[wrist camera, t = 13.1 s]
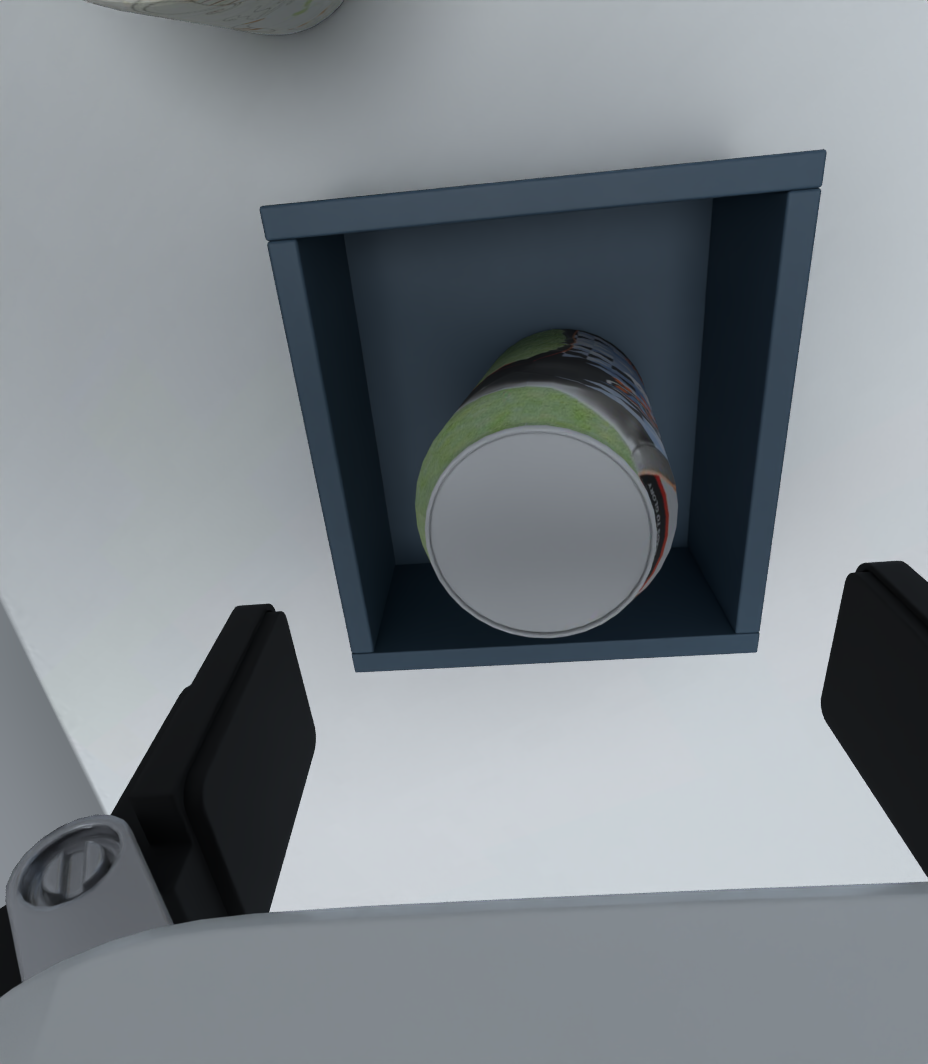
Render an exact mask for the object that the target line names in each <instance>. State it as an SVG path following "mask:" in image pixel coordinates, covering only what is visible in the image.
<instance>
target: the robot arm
mask: <svg viewBox="0 0 928 1064" xmlns="http://www.w3.org/2000/svg"><path fill="white" fill-rule="evenodd" d="M821 709H822V713H823V716H824V719H825V721H826V723H827V724H828V726H829V727H830V729H831V730H832V732H833V733H834V735H835V736H836V738H837V740H838V741H839V743H840V744H841V746H842V747H843V749H844V750H845V752H846V753H847V755H848V756H849V758H850V759H851V761H852V762H853V764H854V766H855V767H856V769H857V770H858V772H859V773H860V775H861V776H862V778H863V779H864V781H865V782H866V784H867V785H868V787H869V788H870V790H871V792H872V793H873V795H874V796H875V798H876V799H877V801H878V802H879V804H880V805H881V807H882V808H883V810H884V811H885V813H886V814H887V816H888V818H889V819H890V821H891V822H892V824H893V825H894V827H895V828H896V830H897V831H898V833H899V834H900V836H901V837H902V839H903V840H904V842H905V844H906V845H907V847H908V848H909V850H910V851H911V853H912V854H913V856H914V857H915V859H916V860H917V862H918V863H919V865H920V866H921V868H922V870H923V871H924V873H925V874H926V876H927V877H928V582H927V581H926V580H925V579H924V578H922V577H921V576H920V575H919V574H918V573H917V572H916V571H914V570H913V569H912V568H911V567H910V566H909V565H908V564H906V563H904V562H903V561H887V562H872V563H863V564H861V565H859V567H858V568H857V570H856V572H855V573H850V574H849V575H848V576H847V578H846V581H845V585H844V590H843V595H842V599H841V604H840V609H839V614H838V619H837V624H836V628H835V633H834V638H833V643H832V648H831V653H830V657H829V662H828V667H827V672H826V677H825V682H824V686H823V691H822V696H821ZM315 744H316V732H315V726H314V722H313V718H312V715H311V711H310V707H309V703H308V699H307V695H306V691H305V687H304V684H303V680H302V676H301V672H300V668H299V664H298V660H297V656H296V653H295V649H294V645H293V641H292V637H291V633H290V629H289V625H288V621H287V618H286V615H285V614H284V612H282V611H278V612H276V611H275V609H274V607H273V606H272V605H271V604H257V605H242V606H237V607H235V609H234V610H233V611H232V613H231V615H230V617H229V618H228V620H227V622H226V624H225V625H224V627H223V629H222V631H221V633H220V634H219V636H218V638H217V640H216V641H215V643H214V645H213V647H212V649H211V650H210V652H209V654H208V656H207V657H206V659H205V661H204V663H203V664H202V666H201V668H200V670H199V672H198V673H197V675H196V677H195V679H194V680H193V682H192V684H191V685H190V686H188V687H186V688H185V689H184V690H183V691H182V693H181V694H180V695H179V697H178V699H177V700H176V702H175V704H174V706H173V707H172V709H171V711H170V713H169V714H168V716H167V718H166V720H165V721H164V723H163V725H162V726H161V728H160V730H159V732H158V733H157V735H156V737H155V739H154V740H153V742H152V744H151V746H150V747H149V749H148V751H147V753H146V754H145V756H144V758H143V759H142V761H141V763H140V765H139V766H138V768H137V770H136V772H135V773H134V775H133V777H132V779H131V780H130V782H129V784H128V786H127V787H126V789H125V791H124V792H123V794H122V796H121V798H120V799H119V801H118V803H117V805H116V806H115V808H114V810H113V812H112V813H111V815H93V816H88V817H84V818H80V819H77V820H74V821H72V822H70V823H68V824H65V825H63V826H61V827H59V828H57V829H56V830H54V831H53V832H51V833H50V834H48V835H47V836H45V837H43V838H42V839H41V840H40V841H38V842H37V843H36V844H35V845H34V846H33V847H32V848H31V849H30V850H29V851H28V852H26V854H25V855H24V856H23V857H22V859H21V860H20V861H19V863H18V864H17V865H16V867H15V868H14V869H13V871H12V874H11V876H10V878H9V881H8V883H7V885H6V905H5V906H4V907H2V908H0V1064H928V882H909V883H883V884H856V885H830V886H803V887H777V888H750V889H727V890H703V891H680V892H656V893H633V894H610V895H588V896H565V897H543V898H522V899H501V900H481V901H460V902H440V903H420V904H399V905H379V906H360V907H345V908H330V909H315V910H300V911H285V912H270V913H269V911H270V907H271V903H272V900H273V896H274V893H275V889H276V886H277V882H278V879H279V875H280V871H281V868H282V864H283V861H284V857H285V854H286V850H287V847H288V843H289V840H290V836H291V832H292V829H293V825H294V822H295V818H296V815H297V811H298V808H299V804H300V800H301V797H302V793H303V790H304V786H305V783H306V779H307V776H308V772H309V768H310V765H311V761H312V758H313V754H314V750H315Z"/></svg>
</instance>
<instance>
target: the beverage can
mask: <svg viewBox="0 0 928 1064" xmlns="http://www.w3.org/2000/svg"><path fill="white" fill-rule="evenodd" d="M415 509H416V519H417V527H418V531H419V534H420V538H421V541H422V545H423V547H424V549H425V552H426V554H427V556H428V558H429V560H430V562H431V564H432V566H433V569H434V571H435V573H436V575H437V577H438V579H439V581H440V582H441V584H442V585H443V586H444V588H445V589H446V591H447V592H448V593H449V595H450V596H451V597H452V598H453V599H454V600H455V601H456V602H457V603H458V604H459V605H460V606H461V607H462V608H463V609H465V610H466V611H467V612H469V613H470V614H471V615H473V616H474V617H475V618H477V619H478V620H480V621H482V622H484V623H486V624H488V625H490V626H492V627H493V628H496V629H499V630H502V631H505V632H508V633H510V634H515V635H520V636H525V637H533V638H555V637H564V636H570V635H574V634H577V633H581V632H585V631H588V630H590V629H592V628H594V627H597V626H599V625H601V624H603V623H605V622H606V621H608V620H609V619H611V618H612V617H614V616H615V615H617V614H618V613H619V612H620V611H622V610H623V609H624V608H625V607H626V606H627V605H628V604H629V603H630V602H632V601H633V600H634V599H635V598H636V597H637V596H638V595H639V594H640V593H641V592H642V591H643V590H644V589H645V588H647V587H648V585H649V584H650V583H651V581H652V580H653V579H654V577H655V576H656V575H657V573H658V572H659V570H660V569H661V567H662V565H663V563H664V561H665V559H666V557H667V555H668V553H669V551H670V549H671V545H672V541H673V538H674V534H675V530H676V526H677V512H678V500H677V492H676V484H675V480H674V476H673V473H672V470H671V467H670V464H669V461H668V458H667V455H666V452H665V449H664V446H663V443H662V440H661V436H660V433H659V430H658V427H657V424H656V421H655V418H654V415H653V412H652V409H651V406H650V403H649V400H648V396H647V393H646V390H645V387H644V384H643V381H642V378H641V377H640V375H639V373H638V371H637V369H636V368H635V366H634V364H633V363H632V362H631V361H630V360H629V358H628V357H627V356H626V355H625V354H624V353H623V352H622V351H621V350H620V349H618V348H617V347H616V346H615V345H613V344H612V343H610V342H609V341H607V340H605V339H603V338H601V337H600V336H597V335H594V334H591V333H588V332H585V331H580V330H573V329H552V330H548V331H543V332H539V333H536V334H533V335H531V336H528V337H526V338H524V339H522V340H520V341H519V342H517V343H516V344H514V345H512V346H511V347H509V348H508V349H507V350H506V351H505V352H504V353H503V354H502V355H501V356H500V357H499V358H498V359H497V360H496V361H495V363H494V364H493V365H492V367H491V368H490V369H489V370H488V372H487V373H486V374H485V375H484V377H483V378H482V379H481V380H480V382H479V383H478V384H477V386H476V387H475V388H474V389H473V391H472V392H471V393H470V394H469V396H468V397H467V398H466V399H465V401H464V402H463V403H462V405H461V406H460V407H459V408H458V410H457V411H456V412H455V413H454V415H453V416H452V417H451V419H450V420H449V421H448V422H447V424H446V425H445V426H444V428H443V429H442V430H441V432H440V433H439V434H438V436H437V437H436V438H435V439H434V441H433V442H432V444H431V446H430V448H429V450H428V452H427V454H426V456H425V458H424V460H423V463H422V466H421V470H420V474H419V477H418V481H417V487H416V499H415Z"/></svg>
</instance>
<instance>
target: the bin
mask: <svg viewBox="0 0 928 1064" xmlns="http://www.w3.org/2000/svg"><path fill="white" fill-rule="evenodd" d="M825 160H826V150H824V149H823V150H813V151H803V152H793V153H783V154H773V155H763V156H753V157H743V158H733V159H724V160H714V161H704V162H694V163H684V164H674V165H664V166H654V167H644V168H634V169H624V170H614V171H604V172H595V173H585V174H575V175H565V176H555V177H545V178H535V179H525V180H515V181H505V182H495V183H485V184H476V185H466V186H456V187H446V188H436V189H426V190H416V191H406V192H396V193H386V194H376V195H366V196H356V197H347V198H337V199H327V200H317V201H307V202H297V203H287V204H277V205H267V206H261V207H260V214H261V219H262V223H263V228H264V233H265V238H266V240H267V241H269V242H268V244H267V247H268V251H269V256H270V261H271V266H272V271H273V275H274V280H275V285H276V290H277V295H278V300H279V304H280V309H281V314H282V319H283V324H284V329H285V333H286V338H287V343H288V348H289V353H290V357H291V362H292V367H293V372H294V377H295V382H296V386H297V391H298V396H299V401H300V406H301V411H302V415H303V420H304V425H305V430H306V435H307V439H308V444H309V449H310V454H311V459H312V464H313V468H314V473H315V478H316V483H317V488H318V493H319V497H320V502H321V507H322V512H323V517H324V521H325V526H326V531H327V536H328V541H329V546H330V550H331V555H332V560H333V565H334V570H335V575H336V579H337V584H338V589H339V594H340V599H341V603H342V608H343V613H344V618H345V623H346V628H347V632H348V637H349V642H350V647H351V651H352V658H353V663H354V668H355V672H374V671H394V670H414V669H434V668H454V667H474V666H494V665H514V664H534V663H554V662H574V661H594V660H614V659H634V658H654V657H674V656H694V655H714V654H734V653H754V652H757V648H758V641H759V631H760V624H761V616H762V609H763V602H764V595H765V588H766V581H767V574H768V566H769V559H770V552H771V545H772V538H773V531H774V524H775V516H776V509H777V502H778V495H779V488H780V481H781V473H782V466H783V459H784V452H785V445H786V438H787V431H788V423H789V416H790V409H791V402H792V395H793V388H794V381H795V373H796V366H797V359H798V352H799V345H800V338H801V331H802V323H803V316H804V309H805V302H806V295H807V288H808V281H809V273H810V266H811V259H812V252H813V245H814V238H815V231H816V223H817V216H818V209H819V202H820V195H821V189H819V187H821V185H822V181H823V174H824V167H825ZM552 329H573V330H580V331H585V332H588V333H591V334H594V335H597V336H600V337H601V338H603V339H605V340H607V341H609V342H610V343H612V344H613V345H615V346H616V347H617V348H618V349H620V350H621V351H622V352H623V353H624V354H625V355H626V356H627V357H628V358H629V360H630V361H631V362H632V363H633V364H634V366H635V368H636V369H637V371H638V373H639V375H640V377H641V378H642V381H643V384H644V387H645V390H646V393H647V396H648V400H649V403H650V406H651V409H652V412H653V415H654V418H655V421H656V424H657V427H658V430H659V433H660V436H661V440H662V443H663V446H664V449H665V452H666V455H667V458H668V461H669V464H670V467H671V470H672V473H673V476H674V480H675V484H676V492H677V500H678V512H677V526H676V530H675V534H674V538H673V541H672V545H671V549H670V551H669V553H668V555H667V557H666V559H665V561H664V563H663V565H662V567H661V569H660V570H659V572H658V573H657V575H656V576H655V577H654V579H653V580H652V581H651V583H650V584H649V585H648V587H647V588H645V589H644V590H643V591H642V592H641V593H640V594H639V595H638V596H637V597H636V598H635V599H634V600H633V601H632V602H630V603H629V604H628V605H627V606H626V607H625V608H624V609H623V610H622V611H620V612H619V613H618V614H617V615H615V616H614V617H612V618H611V619H609V620H608V621H606V622H605V623H603V624H601V625H599V626H597V627H594V628H592V629H590V630H588V631H585V632H581V633H577V634H574V635H570V636H564V637H555V638H533V637H525V636H520V635H515V634H510V633H508V632H505V631H502V630H499V629H496V628H493V627H492V626H490V625H488V624H486V623H484V622H482V621H480V620H478V619H477V618H475V617H474V616H473V615H471V614H470V613H469V612H467V611H466V610H465V609H463V608H462V607H461V606H460V605H459V604H458V603H457V602H456V601H455V600H454V599H453V598H452V597H451V596H450V595H449V593H448V592H447V591H446V589H445V588H444V586H443V585H442V584H441V582H440V581H439V579H438V577H437V575H436V573H435V571H434V569H433V566H432V564H431V562H430V560H429V558H428V556H427V554H426V552H425V549H424V547H423V545H422V541H421V538H420V534H419V531H418V527H417V519H416V509H415V499H416V487H417V481H418V477H419V474H420V470H421V466H422V463H423V460H424V458H425V456H426V454H427V452H428V450H429V448H430V446H431V444H432V442H433V441H434V439H435V438H436V437H437V436H438V434H439V433H440V432H441V430H442V429H443V428H444V426H445V425H446V424H447V422H448V421H449V420H450V419H451V417H452V416H453V415H454V413H455V412H456V411H457V410H458V408H459V407H460V406H461V405H462V403H463V402H464V401H465V399H466V398H467V397H468V396H469V394H470V393H471V392H472V391H473V389H474V388H475V387H476V386H477V384H478V383H479V382H480V380H481V379H482V378H483V377H484V375H485V374H486V373H487V372H488V370H489V369H490V368H491V367H492V365H493V364H494V363H495V361H496V360H497V359H498V358H499V357H500V356H501V355H502V354H503V353H504V352H505V351H506V350H507V349H508V348H509V347H511V346H512V345H514V344H516V343H517V342H519V341H520V340H522V339H524V338H526V337H528V336H531V335H533V334H536V333H539V332H543V331H548V330H552Z"/></svg>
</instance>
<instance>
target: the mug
mask: <svg viewBox="0 0 928 1064" xmlns="http://www.w3.org/2000/svg"><path fill="white" fill-rule="evenodd" d="M84 1H87V2H90V3H93V4H97V5H100V6H104V7H108V8H112V9H116V10H120V11H125V12H131V13H137V14H143V15H149V16H155V17H161V18H167V19H173V20H179V21H185V22H191V23H197V24H204V25H210V26H216V27H222V28H228V29H234V30H240V31H246V32H252V33H258V34H267V35H287V34H292V33H297V32H300V31H303V30H306V29H308V28H311V27H313V26H315V25H317V24H318V23H320V22H321V21H323V20H324V19H326V18H327V17H328V16H329V15H331V14H332V13H333V12H334V11H335V10H336V9H337V8H338V7H339V6H340V4H341V3H342V2H343V1H344V0H84Z"/></svg>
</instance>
